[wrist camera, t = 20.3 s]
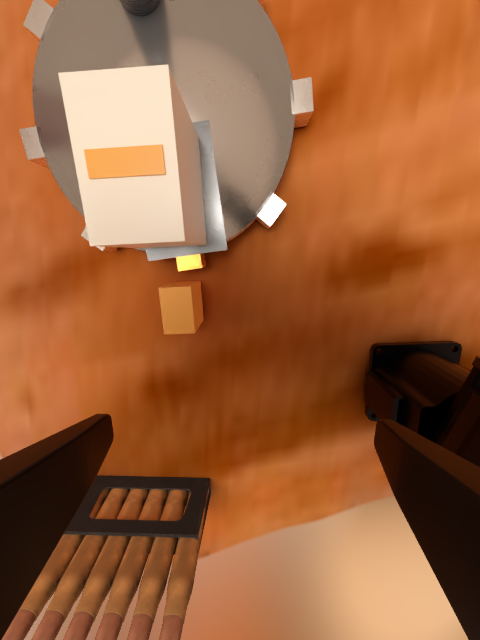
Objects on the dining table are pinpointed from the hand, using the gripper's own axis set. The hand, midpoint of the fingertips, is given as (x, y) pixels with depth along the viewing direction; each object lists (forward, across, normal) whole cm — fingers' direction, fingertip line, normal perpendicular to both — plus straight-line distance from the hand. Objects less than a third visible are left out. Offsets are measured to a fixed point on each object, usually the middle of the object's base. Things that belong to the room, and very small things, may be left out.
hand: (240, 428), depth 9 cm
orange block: (+12, +4, -2) cm, 13 cm away
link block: (+9, +5, -9) cm, 14 cm away
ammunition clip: (+12, +9, +15) cm, 21 cm away
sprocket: (+12, +5, -13) cm, 18 cm away
